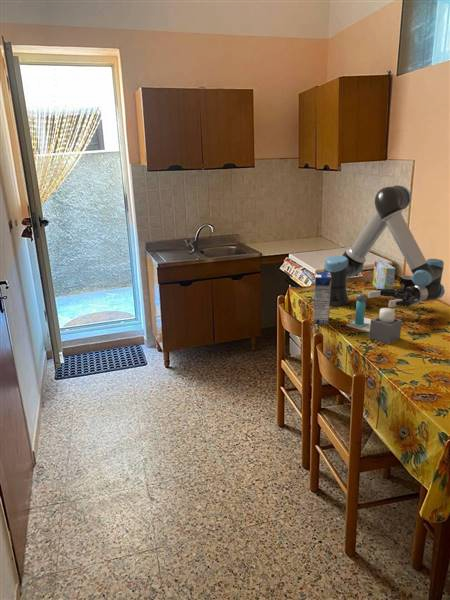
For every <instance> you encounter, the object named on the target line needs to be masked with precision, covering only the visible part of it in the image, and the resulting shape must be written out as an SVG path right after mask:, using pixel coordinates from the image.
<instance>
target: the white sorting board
mask: <svg viewBox="0 0 450 600" xmlns="http://www.w3.org/2000/svg"><path fill="white" fill-rule="evenodd" d="M372 319H373V318H372ZM372 319H371V318H369V317H366V316H364V324H363V325H357V324H355V323H354V322H355V320H353V321H351V322H348V323H346V327H349V328H353V329H357V330H359V331H363V332H366V333H369V334H370V324H371V320H372Z"/></svg>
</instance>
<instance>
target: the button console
mask: <svg viewBox="0 0 450 600" xmlns="http://www.w3.org/2000/svg"><path fill="white" fill-rule="evenodd" d="M402 324H403V320H402V319H398V318H394V323H392V324H387V323H383V322H379V316H377V317H375V318H372V320H371V324H370V333H369V336H368V338H369V339H371V340H374V341H377V342H380V343H381V342H382V343H384V344H387V345H390V344H392V343H394V342H395V341H397V340H399V339H400V338H401V332H402Z"/></svg>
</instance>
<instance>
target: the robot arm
mask: <svg viewBox="0 0 450 600" xmlns="http://www.w3.org/2000/svg"><path fill="white" fill-rule="evenodd" d="M411 200H412V196H411V192H410V190H409V189H408V188H407V187H405V186H402V185H393V186H385V187H383V188H381V189H380V190H378V191H377V192H376V195H375V198H374V205H375V212H374V213H373V215H372V216H371V218H370V219H369V220H368V221H367V223H366V225H365V226H364V227H363V229H362V231H361V233H359V235H358V237H357V238H356V239H355V241H354V243H353V244H352V246H351V247H349V248H346V249H345V251H344V252H343V253H342V255H334V256H333V255H331V256H328V257H326V259H324V264H323V272H331V278H332V279H331V293H330V306H332V307H342V306H346V305H348V304H349V302H350V301H349V294H348V291H347V283H348V281H347V280H348V279H350V278H352V277H356V276H357V275H359V274H360V273H361V272H362V271H363V268H364V265H365V262H366V261H367V259H366V256H367V255H368V253H369V252H370V250H371V249H372V248H373V247H374V245H375V243H376V242H377V240H378V239H379V237H380V236H381V235H382V233H383V232H384V231H385V229H386V228H387V227H388V230H389V232H390V233H391V235H392V237H393V238H394V239H393V240H394V241H395V243H396V244H397V247H398V249H399V250H400V253H401V254H402V256H403V258H404V260H405V261H406V264H407V265H408V268H409V269H410V271H411V273H412V275H411V276H412V281H413V283H414V284H415V285H416V286H411V287H406V288H405V289H404V290H401V289H400V290H399V289H398V288H393V289H377V288H376V290H373V291H368V292H367V293H368V294H367V298H368V299H371V298H380V297H381V296H383V297H391V298H394V299H392V300H388V306H387V308H391V307H392V308H393V307H399V306H405V307H407V308H409V307H410V306H412V305H413V304H415V303H419V302H424V301H433V300H434V301H435V300H437V299H440V298H442V297H443V296H444V295H445V293H446V290H445V287H444V285H443V284H442V283H441V282H442V278H443V272H444V264H445V262H444V260H442V259H440V258H428V259H426V258H425V256H424V254H423V252H422V250H421V248H420V246H419V244H418V243H417V241H416V239H415V238H414V235H413V233H412V232H411V231H412V230H411V229H410V228H409V225H408V224H407V222H406V220H405V218H404V216H403V215H402V212H403V210H405V209H406V208H407V207H408V206H409V205H410V203H411Z"/></svg>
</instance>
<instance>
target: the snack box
mask: <svg viewBox="0 0 450 600" xmlns="http://www.w3.org/2000/svg"><path fill="white" fill-rule="evenodd" d="M396 270H397V269H396V267H394V266H392V265H391V264H390V263H388V262H387V261H385V260H383V259H381V260H380V259H375V260H374V267H373V276H372V282H371V283H372V286H373V287H375V288H376V290H377V289H394V283H395V275H396Z"/></svg>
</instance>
